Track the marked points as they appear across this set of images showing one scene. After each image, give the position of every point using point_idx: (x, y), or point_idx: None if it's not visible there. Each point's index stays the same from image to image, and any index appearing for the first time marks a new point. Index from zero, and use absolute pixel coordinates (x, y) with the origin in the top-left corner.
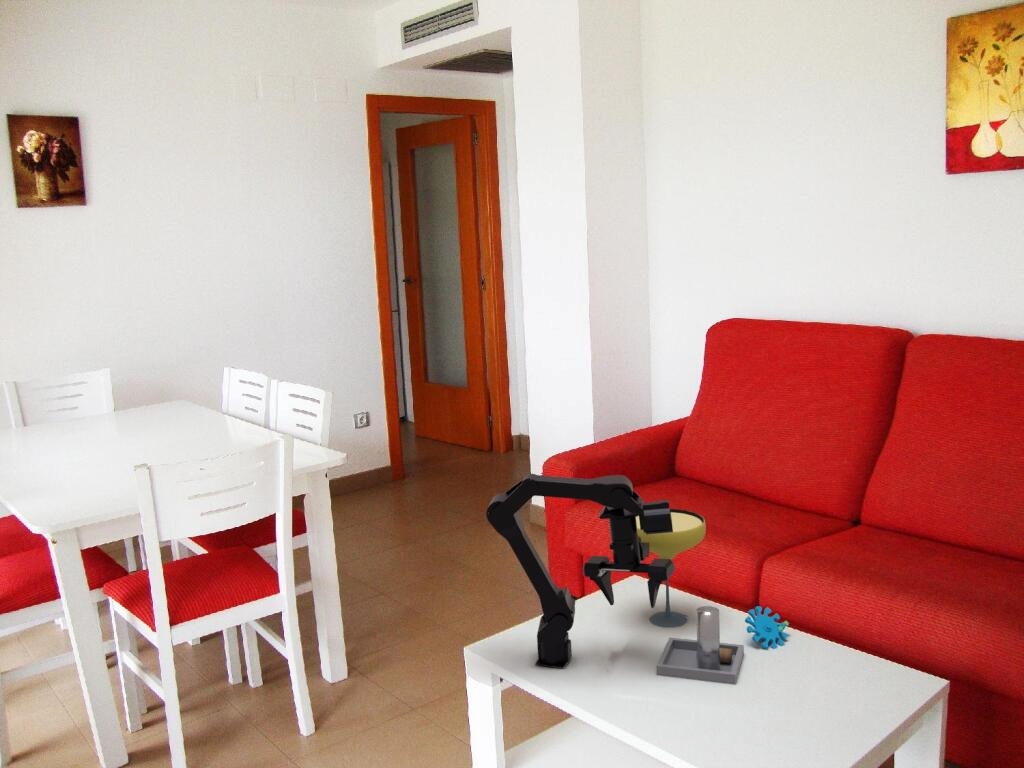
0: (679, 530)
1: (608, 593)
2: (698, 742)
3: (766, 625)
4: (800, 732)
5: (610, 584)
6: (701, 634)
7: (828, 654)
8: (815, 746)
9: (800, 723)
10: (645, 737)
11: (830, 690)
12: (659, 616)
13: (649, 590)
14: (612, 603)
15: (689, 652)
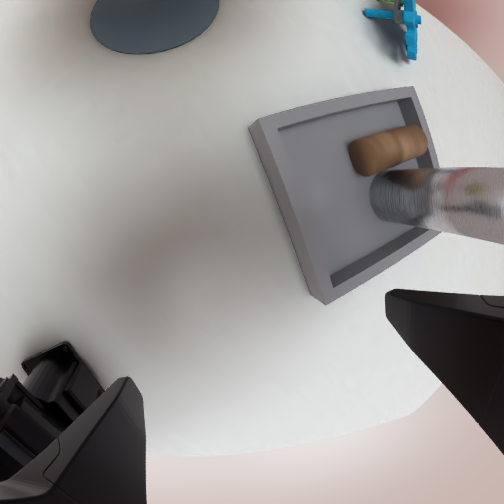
0: None
1: (141, 481)
2: (423, 383)
3: (420, 21)
4: (489, 277)
5: (88, 480)
6: (462, 235)
7: (452, 50)
8: (495, 290)
9: (488, 259)
10: (370, 426)
11: (490, 157)
12: (128, 5)
13: (477, 413)
14: (140, 402)
15: (316, 134)
